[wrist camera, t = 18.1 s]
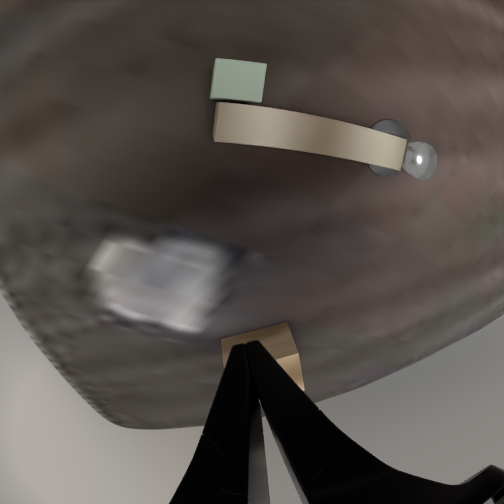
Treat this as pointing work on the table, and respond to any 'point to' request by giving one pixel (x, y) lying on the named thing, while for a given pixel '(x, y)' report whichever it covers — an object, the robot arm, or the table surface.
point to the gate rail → (306, 134)
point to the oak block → (271, 348)
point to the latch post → (237, 80)
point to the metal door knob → (407, 153)
